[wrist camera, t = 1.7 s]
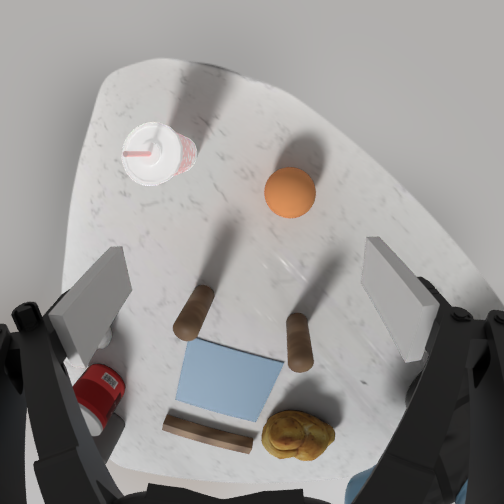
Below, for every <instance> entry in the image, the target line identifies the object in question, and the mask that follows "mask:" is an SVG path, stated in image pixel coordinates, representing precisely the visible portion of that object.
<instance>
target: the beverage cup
mask: <svg viewBox="0 0 504 504" xmlns="http://www.w3.org/2000/svg"><path fill="white" fill-rule="evenodd" d="M196 159H197V149H196V146H195V143H194V142H193V141H192V140H191V139H190V138H188V137H185V136H183V135H181V134H179V133H176V132H175V131H174V130H173V129H172V128H171V127H169V126H167V125H164V124H162V123H159V122H148V123H144V124H142V125H140V126H138V127H136V128H134V130H133V131H132V132H131V133H130V134H129V135H128V136H127V138H126V140H125V143H124V145H123V148H122V163H123V166H124V169H125V171H126V173H127V174H128V175H129V176H130V178H131V179H132V180H133V181H135V182H137V183H139V184H141V185H143V186H156V185H159V184H161V183H163V182H166V181H168V180H170V179H171V178H172V176H175V175H178V174H180V173H183V172H185V171H188V170H189V169H190V168H191V167H192V166H193V165H194V164H195V161H196Z"/></svg>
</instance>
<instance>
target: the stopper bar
mask: <svg viewBox="0 0 504 504" xmlns="http://www.w3.org/2000/svg"><path fill="white" fill-rule="evenodd" d="M162 430H164V431H167V432H170V433H173V434H176V435H179V436H182V437H185V438H189V439H192V440H195V441H199V442H202V443H206V444H209V445H213V446H217V447H221V448H225V449H229V450H233V451H238V452H242V453H247V454H249V453H250V451H251V450H252V445H253V438H249V437H245V436H241V435H236V434H232V433H228V432H224V431H221V430H217V429H213V428H210V427H206V426H203V425H199V424H196V423H193V422H189V421H186V420H183V419H180V418H177V417H174V416H171V415H168V414H167V415H166V418H165V420H164V423H163V428H162Z"/></svg>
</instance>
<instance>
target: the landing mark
mask: <svg viewBox="0 0 504 504" xmlns="http://www.w3.org/2000/svg"><path fill="white" fill-rule="evenodd" d="M283 364H284V363H283V362H279V361H275V360H272V359H268V358H264V357H260V356H256V355H253V354H249V353H245V352H242V351H238V350H235V349H231V348H228V347H225V346H221V345H218V344H215V343H211V342H208V341H205V340H202V339H199V338H196V339H194V340H192V341H188V343H187V348H186V352H185V357H184V361H183V366H182V370H181V375H180V380H179V385H178V390H177V394H176V399H175V400H178V401H181V402H184V403H187V404H190V405H193V406H197V407H200V408H203V409H207V410H210V411H214V412H217V413H221V414H225V415H228V416H232V417H236V418H240V419H244V420H248V421H253V422H256V421H257V419H258V417H259V415H260V413H261V411H262V409H263V407H264V405H265V402H266V400H267V398H268V396H269V394H270V392H271V390H272V388H273V386H274V384H275V381H276V379H277V377H278V375H279V373H280V371H281V368H282V366H283Z"/></svg>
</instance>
